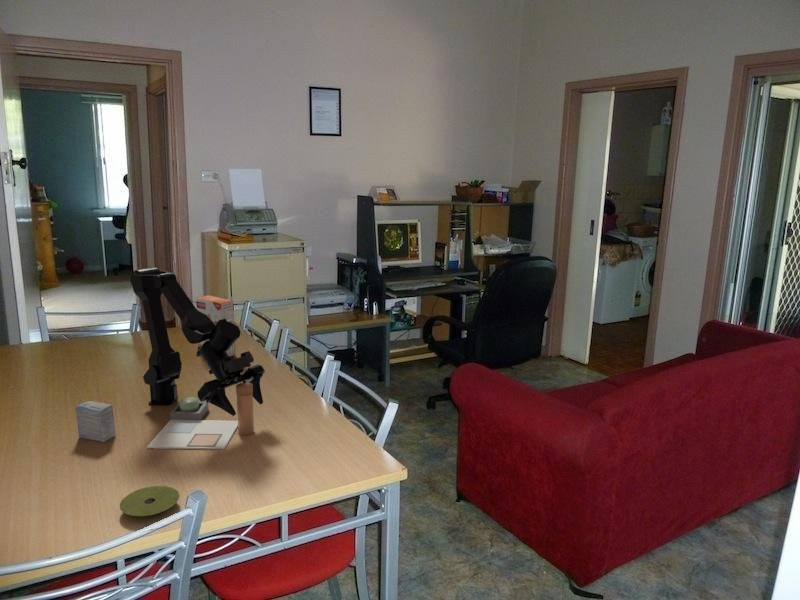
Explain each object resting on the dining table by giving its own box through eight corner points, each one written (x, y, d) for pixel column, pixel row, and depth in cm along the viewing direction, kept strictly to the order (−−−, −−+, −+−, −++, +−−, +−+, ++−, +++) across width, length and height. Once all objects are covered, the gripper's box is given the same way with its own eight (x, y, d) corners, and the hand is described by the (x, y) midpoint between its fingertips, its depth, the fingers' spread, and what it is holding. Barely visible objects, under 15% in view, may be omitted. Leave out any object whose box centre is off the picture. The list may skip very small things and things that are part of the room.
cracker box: (198, 352, 222) (195, 297, 217) (211, 348, 227) (208, 294, 222) (222, 359, 214) (220, 302, 210) (236, 355, 219) (233, 299, 214)
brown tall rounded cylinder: (236, 435, 156) (234, 388, 153) (240, 428, 160) (238, 382, 157) (252, 435, 156) (250, 388, 153) (255, 428, 160) (254, 382, 157)
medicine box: (116, 435, 154) (113, 404, 152) (102, 443, 150) (99, 411, 148) (92, 431, 156) (89, 399, 154) (78, 438, 152) (74, 406, 150)
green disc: (138, 491, 128) (137, 483, 128) (189, 495, 127) (188, 487, 127) (108, 522, 117) (108, 513, 117) (163, 526, 116) (163, 517, 116)
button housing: (170, 421, 163) (169, 412, 163) (180, 409, 171) (179, 401, 170) (199, 421, 163) (199, 413, 163) (208, 409, 171) (208, 401, 170)
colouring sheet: (147, 448, 147) (146, 446, 147) (170, 421, 163) (170, 419, 163) (224, 449, 148) (224, 447, 148) (240, 422, 163) (240, 420, 163)
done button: (177, 414, 164) (176, 404, 164) (183, 407, 169) (183, 397, 168) (195, 414, 164) (195, 404, 164) (201, 407, 169) (200, 397, 169)
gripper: (202, 352, 147) (234, 405, 143) (259, 335, 162) (289, 382, 159) (183, 376, 153) (214, 427, 150) (240, 357, 168) (269, 403, 165)
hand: (248, 409), depth 155 cm, fingers open, 9 cm apart
